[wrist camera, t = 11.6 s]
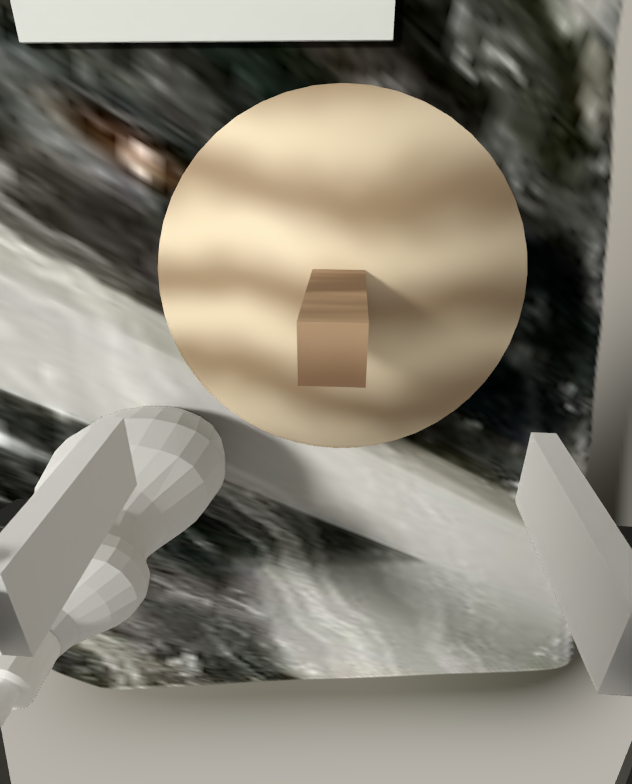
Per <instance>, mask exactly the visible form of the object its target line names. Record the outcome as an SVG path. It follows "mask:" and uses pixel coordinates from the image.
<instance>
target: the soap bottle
mask: <svg viewBox="0 0 632 784" xmlns="http://www.w3.org/2000/svg"><path fill="white" fill-rule="evenodd" d="M104 417H124V421H125V426H126V431H127V436H128V441H129V446H130V451H131V456H132V461H133V466H134V471H135V476H136V481H137V486H136V487H135V489H134V491H133V492H132V494H131V496H130V497H129V499H128V501H127V502H126V504H125V505H124V507H123V509H122V510H121V512H120V514H119V515H118V517H117V519H116V520H115V522H114V524H113V525H112V527H111V529H110V530H109V532H108V534H107V535H106V537H105V539H104V540H103V542H102V544H101V545H100V547H99V549H98V550H97V552H96V553H95V555H94V557H93V558H92V560H91V562H90V563H89V565H88V567H87V568H86V570H85V572H84V573H83V575H82V577H81V578H80V580H79V582H78V583H77V585H76V587H75V588H74V590H73V592H72V593H71V595H70V597H69V598H68V600H67V601H66V603H65V605H64V606H63V608H62V610H61V611H60V613H59V615H58V616H57V618H56V620H55V621H54V623H53V625H52V626H51V628H50V630H49V631H48V633H47V635H46V636H45V638H44V640H43V641H42V643H41V645H40V646H39V648H38V649H37V651H36V653H35V654H34V656H33V657H25V656H9V655H2V653H1V651H0V727H2V725H3V723H4V722H5V720H6V718H7V717H8V715H9V713H10V711H11V710H12V709H21V708H25V707H28V706H29V705H30V704H31V703H32V702H33V701H34V699H35V697H36V695H37V693H38V691H39V690H40V688H41V686H42V684H43V683H44V681H45V679H46V677H47V676H48V674H49V672H50V670H51V669H52V667H53V665H54V663H55V661H56V660H57V658H58V657H59V656H61V655H62V654H63V653H64V652H65V651H66V650H68V649H69V648H70V647H71V646H73V645H75V644H77V643H79V642H82V641H84V640H86V639H88V638H90V637H92V636H95V635H97V634H99V633H101V632H104V631H106V630H108V629H110V628H113V627H115V626H117V625H119V624H120V623H122V622H123V621H125V620H126V619H128V618H129V617H130V616H131V615H132V614H133V612H134V611H135V610H136V609H137V608H138V606H139V605H140V604H141V602H142V601H143V600H144V598H145V597H146V593H147V589H148V584H149V577H150V572H149V569H148V566H147V564H146V559H147V557H148V556H149V555H150V554H152V553H153V552H154V551H156V550H157V549H158V548H160V547H161V546H163V545H164V544H166V543H167V542H168V541H170V540H171V539H173V538H174V537H176V536H177V535H179V534H180V533H181V532H183V531H184V530H185V529H187V528H188V527H189V526H190V525H192V524H193V523H194V522H195V521H196V520H197V519H198V518H199V517H200V515H201V514H202V513H203V512H204V510H205V509H206V508H207V506H208V505H209V504H210V502H211V501H212V499H213V498H214V496H215V495H216V494H217V492H218V491H219V489H220V488H221V487H222V484H223V480H224V477H225V474H226V472H225V452H224V448H223V444H222V440H221V438H220V436H219V434H218V433H217V431H216V430H215V428H214V427H213V425H212V424H210V423H209V422H207V421H206V420H205V419H203V418H202V417H200V416H198V415H196V414H194V413H191V412H189V411H186V410H184V409H181V408H176V407H169V406H143V407H137V408H130V409H124V410H121V411H118V412H115V413H112V414H109V415H106V416H104ZM97 421H98V420H97ZM97 421H96V422H97ZM96 422H94V423H92V424H91V425H89V426H87V427H86V428H84V429H83V430H81V431H79V432H78V433H76V434H74V435H73V436H71V437H70V438H68V439H66V440H65V442H64V443H63V444H62V445H61V446H60V447H59V448H58V449H57V450H56V451H55V452H54V454H53V456H52V458H51V460H50V462H49V463H48V465H47V467H46V469H45V471H44V473H43V474H42V476H41V478H40V480H39V482H38V483H37V485H36V487H35V492H36V491H37V490H38V489H39V488H40V486H41V485H42V484H43V483H44V482H45V481H46V479H47V478H48V477H49V476H50V475H51V474H52V473H53V471H54V470H55V469H56V468H57V467H58V466H59V465H60V463H61V462H62V461H63V460H64V459H65V458H66V456H67V455H68V454H69V453H70V452H71V451H72V450H73V448H74V447H75V446H76V445H77V444H78V443H79V441H80V440H81V439H82V438H83V437H84V436H85V435H86V433H87V432H88V431H89V430H90V429H91V428H92V427H93V425H94V424H95V423H96Z"/></svg>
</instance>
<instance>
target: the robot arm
mask: <svg viewBox="0 0 632 784" xmlns="http://www.w3.org/2000/svg"><path fill="white" fill-rule="evenodd" d="M136 486H137V481H136V476H135V471H134V466H133V461H132V456H131V451H130V446H129V441H128V436H127V431H126V426H125V421H124V417H100V418H99V420H98V421H97V422H96V423H95V424H94V425H93V427H92V428H91V429H90V430H89V431H88V432H87V433H86V435H85V436H84V437H83V438H82V439H81V440H80V441H79V443H78V444H77V445H76V446H75V447H74V448H73V450H72V451H71V452H70V453H69V454H68V455H67V456H66V458H65V459H64V460H63V461H62V462H61V463H60V465H59V466H58V467H57V468H56V469H55V470H54V471H53V473H52V474H51V475H50V476H49V477H48V478H47V479H46V481H45V482H44V483H43V484H42V485H41V486H40V488H39V489H38V490H37V491H36V492H35V493H34V494H33V496H32V497H31V498H30V499H29V500H25V499H17V500H15V501H14V502H12V503H11V504H9V505H7V506H6V507H4V508H3V509H1V510H0V651H1V653H2V655H9V656H25V657H33V656H34V654H35V653H36V651H37V649H38V648H39V646H40V645H41V643H42V641H43V640H44V638H45V636H46V635H47V633H48V631H49V630H50V628H51V626H52V625H53V623H54V621H55V620H56V618H57V616H58V615H59V613H60V611H61V610H62V608H63V606H64V605H65V603H66V601H67V600H68V598H69V597H70V595H71V593H72V592H73V590H74V588H75V587H76V585H77V583H78V582H79V580H80V578H81V577H82V575H83V573H84V572H85V570H86V568H87V567H88V565H89V563H90V562H91V560H92V558H93V557H94V555H95V553H96V552H97V550H98V549H99V547H100V545H101V544H102V542H103V540H104V539H105V537H106V535H107V534H108V532H109V530H110V529H111V527H112V525H113V524H114V522H115V520H116V519H117V517H118V515H119V514H120V512H121V510H122V509H123V507H124V505H125V504H126V502H127V501H128V499H129V497H130V496H131V494H132V492H133V491H134V489H135V487H136ZM515 502H516V505H517V507H518V509H519V512H520V514H521V516H522V519H523V521H524V523H525V526H526V528H527V530H528V533H529V535H530V538H531V540H532V542H533V545H534V547H535V549H536V552H537V554H538V556H539V559H540V561H541V563H542V566H543V568H544V570H545V573H546V575H547V577H548V580H549V582H550V584H551V587H552V589H553V591H554V594H555V596H556V598H557V601H558V603H559V605H560V608H561V610H562V613H563V615H564V617H565V620H566V622H567V624H568V627H569V629H570V631H571V634H572V636H573V638H574V641H575V643H576V645H577V647H578V650H579V652H580V655H581V657H582V659H583V662H584V664H585V666H586V669H587V671H588V673H589V676H590V678H591V680H592V683H593V685H594V687H595V690H596V692H597V694H606V695H621V696H632V527H626V526H616V524H615V523H614V521H613V520H612V518H611V517H610V515H609V514H608V512H607V511H606V509H605V507H604V506H603V504H602V503H601V501H600V500H599V498H598V497H597V495H596V494H595V492H594V491H593V489H592V487H591V486H590V485H589V483H588V481H587V480H586V478H585V477H584V475H583V474H582V472H581V471H580V469H579V468H578V466H577V465H576V463H575V461H574V460H573V458H572V457H571V455H570V454H569V452H568V451H567V449H566V448H565V446H564V445H563V443H562V442H561V440H560V439H559V437H558V435H557V434H556V433H532V432H531V435H530V440H529V444H528V448H527V453H526V457H525V461H524V465H523V470H522V474H521V478H520V483H519V487H518V491H517V495H516V500H515ZM0 784H11V781H10V776H9V770H8V765H7V759H6V754H5V748H4V743H3V738H2V732H1V727H0ZM615 784H632V742H631V744H630V747H629V750H628V752H627V755H626V757H625V760H624V762H623V765H622V767H621V770H620V772H619V775H618V777H617V780H616V783H615Z"/></svg>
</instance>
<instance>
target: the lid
mask: <svg viewBox="0 0 632 784" xmlns="http://www.w3.org/2000/svg"><path fill="white" fill-rule="evenodd" d="M158 275H159V288H160V295H161V300H162V305H163V309H164V314H165V317H166V320H167V323H168V326H169V329H170V332H171V334H172V337H173V339H174V341H175V343H176V345H177V347H178V349H179V351H180V353H181V355H182V357H183V358H184V360H185V361H186V363H187V364H188V366H189V367H190V369H191V371H192V372H193V374H194V375H195V376H196V377H197V378H198V380H199V381H200V382H201V383H202V384H203V386H204V387H205V388H206V389H207V390H208V391H209V392H210V393H211V394H212V395H213V396H214V397H215V398H216V399H217V400H218V401H219V402H220V403H222V404H223V405H224V406H225V407H227V408H228V409H229V410H231V411H232V412H233V413H235V414H236V415H237V416H239V417H240V418H242V419H244V420H245V421H247V422H249V423H250V424H252V425H254V426H255V427H257V428H260V429H262V430H264V431H266V432H268V433H271V434H273V435H275V436H278V437H281V438H284V439H288V440H291V441H294V442H298V443H303V444H308V445H313V446H321V447H332V448H351V447H363V446H371V445H377V444H381V443H386V442H390V441H394V440H397V439H400V438H403V437H406V436H408V435H411V434H414V433H416V432H418V431H420V430H422V429H424V428H426V427H428V426H430V425H432V424H434V423H436V422H438V421H439V420H441V419H442V418H444V417H445V416H447V415H448V414H450V413H451V412H453V411H454V410H455V409H457V408H458V407H459V406H460V405H461V404H463V403H464V402H465V401H466V400H467V399H469V398H470V397H471V396H472V395H473V394H474V393H475V391H476V390H477V389H478V388H479V387H480V386H481V385H482V384H483V383H484V382H485V381H486V379H487V378H488V377H489V375H490V374H491V373H492V371H493V370H494V369H495V367H496V366H497V365H498V363H499V361H500V360H501V358H502V356H503V354H504V352H505V351H506V349H507V347H508V345H509V344H510V341H511V339H512V336H513V334H514V331H515V329H516V326H517V324H518V321H519V317H520V313H521V310H522V306H523V302H524V297H525V289H526V281H527V247H526V241H525V234H524V228H523V223H522V220H521V216H520V213H519V210H518V207H517V203H516V200H515V198H514V196H513V194H512V192H511V189H510V187H509V185H508V183H507V181H506V179H505V177H504V175H503V174H502V172H501V171H500V169H499V168H498V166H497V165H496V163H495V162H494V160H493V159H492V157H491V156H490V154H489V153H488V152H487V151H486V150H485V148H484V147H483V146H482V145H481V144H480V143H479V142H478V141H477V140H476V139H475V138H474V136H473V135H472V134H471V133H470V132H468V131H467V130H466V129H465V128H463V127H462V126H461V125H460V124H459V123H457V122H456V121H455V120H454V119H452V118H451V117H450V116H448V115H447V114H445V113H443V112H442V111H440V110H438V109H436V108H435V107H433V106H431V105H430V104H428V103H426V102H424V101H422V100H419V99H417V98H414V97H412V96H409V95H407V94H404V93H401V92H399V91H395V90H390V89H386V88H382V87H377V86H373V85H363V84H349V83H337V84H325V85H313V86H309V87H305V88H301V89H297V90H292V91H288V92H285V93H283V94H280V95H278V96H275V97H273V98H270V99H268V100H265V101H263V102H260V103H259V104H257V105H255V106H254V107H252V108H250V109H248V110H247V111H245V112H243V113H242V114H240V115H238V116H237V117H235V118H234V119H233V120H232V121H230V122H229V123H228V124H227V125H226V126H224V127H223V128H222V129H221V130H219V131H218V132H217V133H216V134H215V135H214V136H213V137H212V138H211V139H210V140H209V141H208V142H207V143H206V145H205V146H204V147H203V148H202V149H201V150H200V151H199V152H198V153H197V155H196V156H195V158H194V159H193V161H192V162H191V163H190V165H189V166H188V168H187V169H186V171H185V172H184V174H183V175H182V177H181V179H180V181H179V183H178V185H177V187H176V190H175V192H174V194H173V196H172V198H171V201H170V204H169V207H168V210H167V213H166V216H165V219H164V222H163V227H162V233H161V238H160V244H159V259H158Z"/></svg>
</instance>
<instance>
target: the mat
mask: <svg viewBox="0 0 632 784" xmlns="http://www.w3.org/2000/svg"><path fill="white" fill-rule="evenodd" d="M10 1H11V6H12V11H13V15H14V20H15V24H16V29H17V33H18V38H19V42H21V43H174V42H330V41H393V31H394V14H395V0H10Z"/></svg>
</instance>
